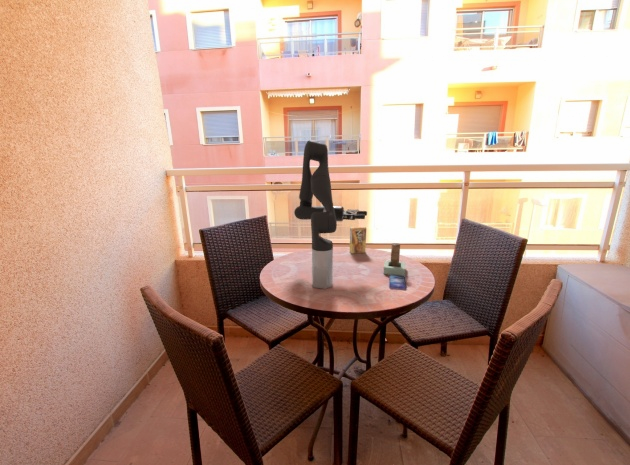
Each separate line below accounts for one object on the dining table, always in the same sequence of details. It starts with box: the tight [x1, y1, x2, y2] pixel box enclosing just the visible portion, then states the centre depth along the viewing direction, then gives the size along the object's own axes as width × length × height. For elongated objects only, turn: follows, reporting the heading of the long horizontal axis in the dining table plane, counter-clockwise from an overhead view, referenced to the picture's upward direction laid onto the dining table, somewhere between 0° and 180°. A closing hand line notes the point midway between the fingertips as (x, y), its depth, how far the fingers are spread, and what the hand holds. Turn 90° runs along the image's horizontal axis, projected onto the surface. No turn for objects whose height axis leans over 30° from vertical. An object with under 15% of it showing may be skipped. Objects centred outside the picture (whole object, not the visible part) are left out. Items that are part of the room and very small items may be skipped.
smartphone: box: [388, 274, 407, 291], centre depth 134 cm, size 7×1×15 cm
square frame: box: [383, 260, 406, 277], centre depth 146 cm, size 10×10×4 cm
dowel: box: [390, 242, 401, 267], centre depth 145 cm, size 4×4×14 cm
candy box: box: [349, 226, 367, 254], centre depth 174 cm, size 9×4×15 cm, turn 103°
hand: (365, 215), depth 143 cm, fingers open, 8 cm apart
